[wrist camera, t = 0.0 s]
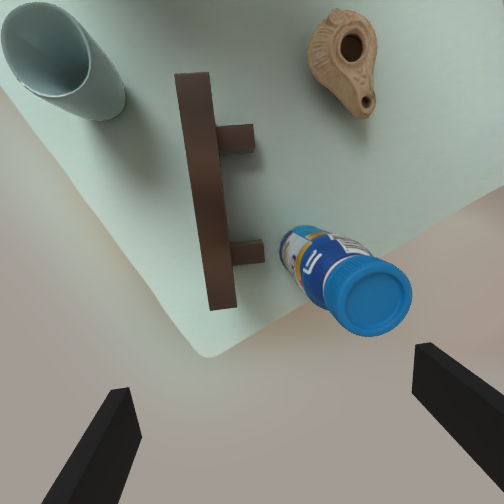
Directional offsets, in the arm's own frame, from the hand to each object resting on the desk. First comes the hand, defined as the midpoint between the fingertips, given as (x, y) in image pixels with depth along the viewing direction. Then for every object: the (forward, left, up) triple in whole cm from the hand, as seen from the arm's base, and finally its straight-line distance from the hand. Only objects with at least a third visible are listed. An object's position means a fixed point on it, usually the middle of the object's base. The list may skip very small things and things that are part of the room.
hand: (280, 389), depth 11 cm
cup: (-23, -16, -28) cm, 40 cm away
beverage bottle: (+1, +10, -28) cm, 30 cm away
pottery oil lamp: (-23, +16, -28) cm, 40 cm away
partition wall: (-8, -1, -28) cm, 29 cm away
